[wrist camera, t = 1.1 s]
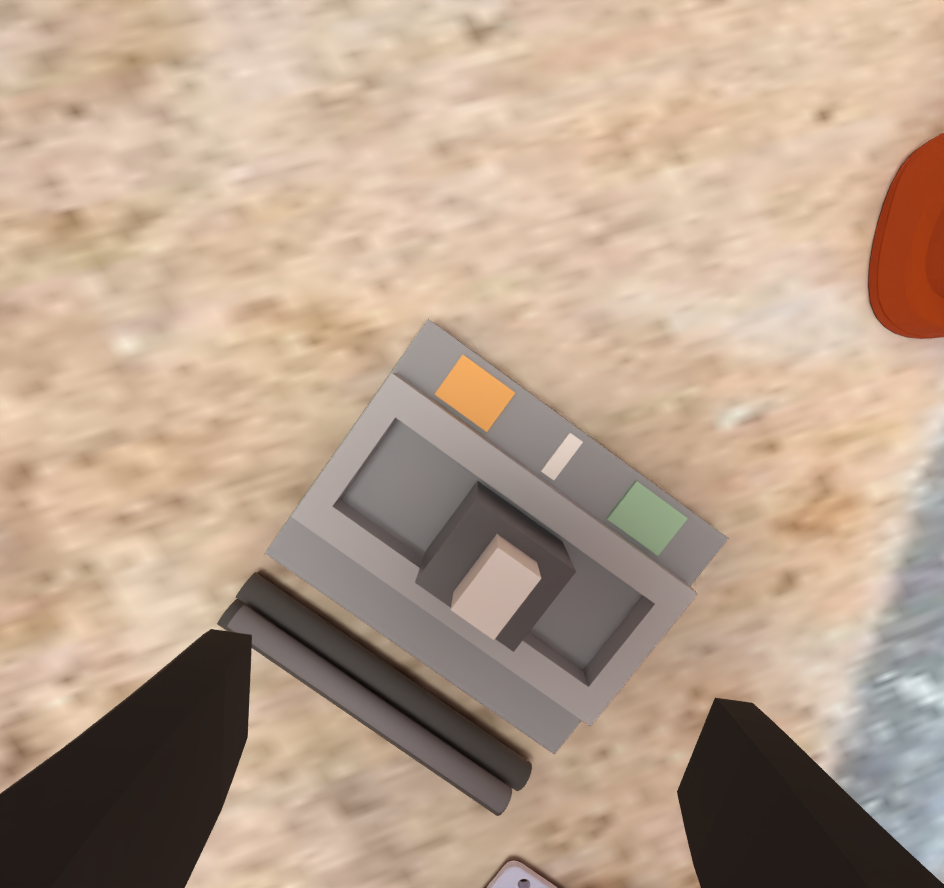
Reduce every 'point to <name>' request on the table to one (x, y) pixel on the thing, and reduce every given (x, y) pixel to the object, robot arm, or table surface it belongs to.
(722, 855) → the robot arm
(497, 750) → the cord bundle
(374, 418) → the breaker panel
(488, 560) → the breaker slider
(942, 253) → the toy drill
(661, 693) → the table surface
